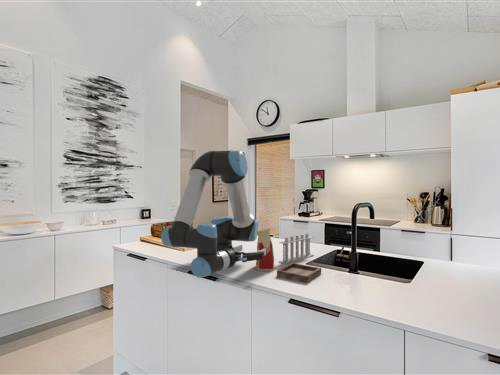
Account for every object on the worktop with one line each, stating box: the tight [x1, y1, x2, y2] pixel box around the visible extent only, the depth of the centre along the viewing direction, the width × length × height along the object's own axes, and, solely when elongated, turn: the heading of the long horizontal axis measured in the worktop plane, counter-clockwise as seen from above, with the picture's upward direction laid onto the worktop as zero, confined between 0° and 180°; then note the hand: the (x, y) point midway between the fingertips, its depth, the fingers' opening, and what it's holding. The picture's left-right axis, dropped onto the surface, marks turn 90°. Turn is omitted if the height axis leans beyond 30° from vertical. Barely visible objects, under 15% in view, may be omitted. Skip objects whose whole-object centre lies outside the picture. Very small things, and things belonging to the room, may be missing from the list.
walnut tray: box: [276, 262, 322, 284], centre depth 135 cm, size 15×15×3 cm
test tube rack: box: [278, 232, 314, 265], centre depth 162 cm, size 25×4×13 cm, turn 132°
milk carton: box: [255, 227, 275, 272], centre depth 146 cm, size 9×9×20 cm
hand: (253, 249), depth 138 cm, fingers open, 13 cm apart
